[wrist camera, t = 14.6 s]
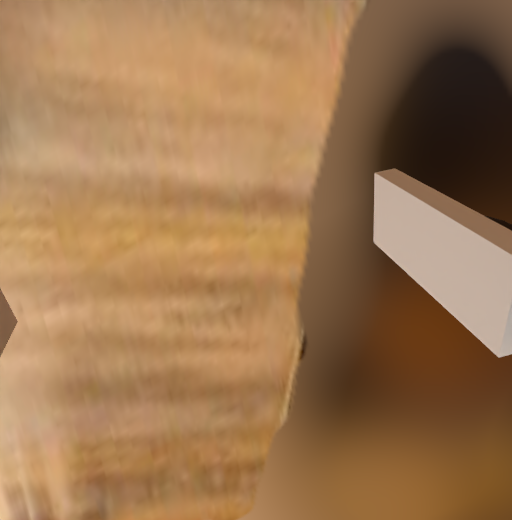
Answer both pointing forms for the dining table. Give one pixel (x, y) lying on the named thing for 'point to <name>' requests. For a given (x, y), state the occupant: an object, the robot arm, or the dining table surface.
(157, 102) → the dining table surface
